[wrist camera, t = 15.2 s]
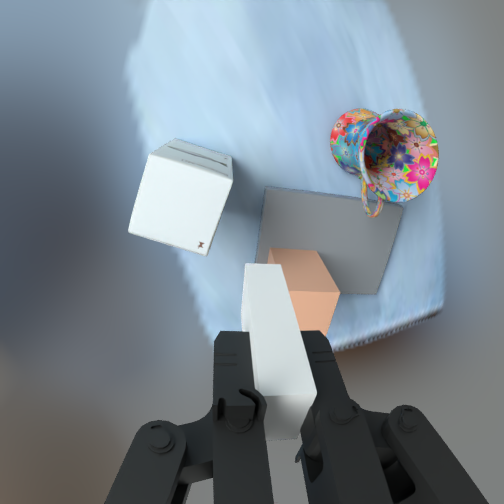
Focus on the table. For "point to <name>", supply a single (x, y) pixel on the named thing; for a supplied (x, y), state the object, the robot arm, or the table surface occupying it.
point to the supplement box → (182, 196)
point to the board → (330, 234)
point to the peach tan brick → (307, 287)
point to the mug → (386, 153)
